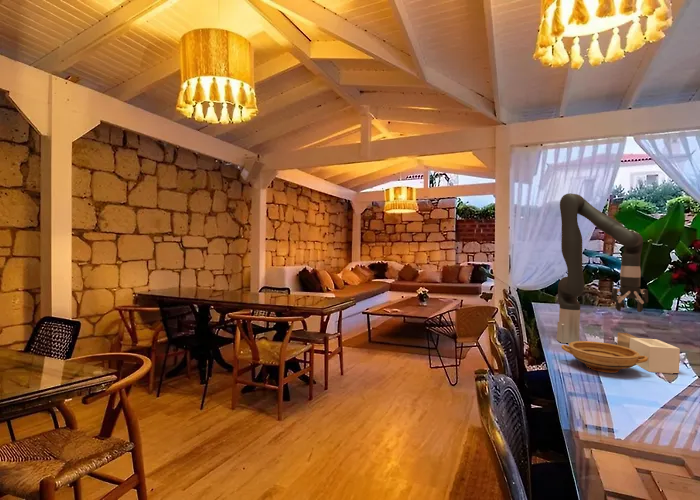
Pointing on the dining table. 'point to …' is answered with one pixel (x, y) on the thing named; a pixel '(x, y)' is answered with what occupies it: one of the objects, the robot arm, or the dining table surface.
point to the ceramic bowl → (604, 355)
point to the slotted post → (656, 355)
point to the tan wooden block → (624, 339)
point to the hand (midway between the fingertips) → (629, 311)
